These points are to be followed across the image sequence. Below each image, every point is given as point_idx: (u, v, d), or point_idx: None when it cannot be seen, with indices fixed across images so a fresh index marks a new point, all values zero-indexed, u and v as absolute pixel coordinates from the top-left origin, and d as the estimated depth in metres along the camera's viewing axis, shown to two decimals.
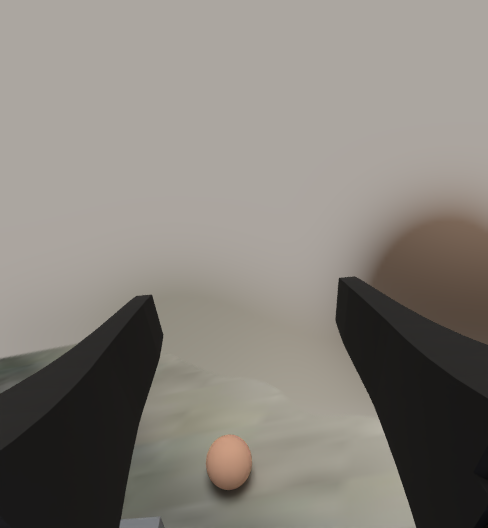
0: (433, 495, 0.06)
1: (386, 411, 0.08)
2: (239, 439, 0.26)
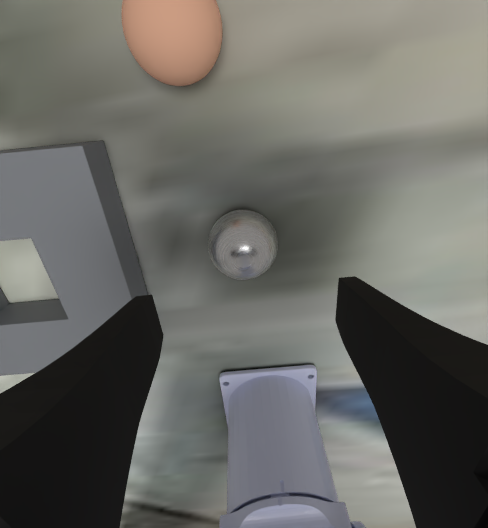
0: (433, 495, 0.06)
1: (386, 411, 0.08)
2: None
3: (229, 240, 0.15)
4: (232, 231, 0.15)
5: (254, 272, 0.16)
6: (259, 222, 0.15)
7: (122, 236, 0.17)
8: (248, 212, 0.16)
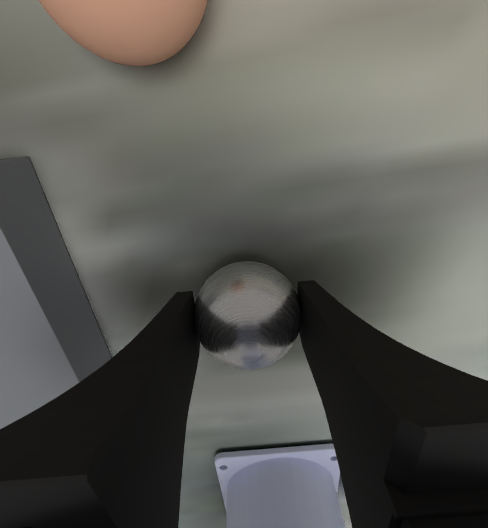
0: (361, 501, 0.06)
1: (331, 415, 0.08)
2: None
3: (226, 320, 0.09)
4: (231, 305, 0.09)
5: (266, 365, 0.10)
6: (275, 287, 0.10)
7: (66, 298, 0.11)
8: (255, 269, 0.10)
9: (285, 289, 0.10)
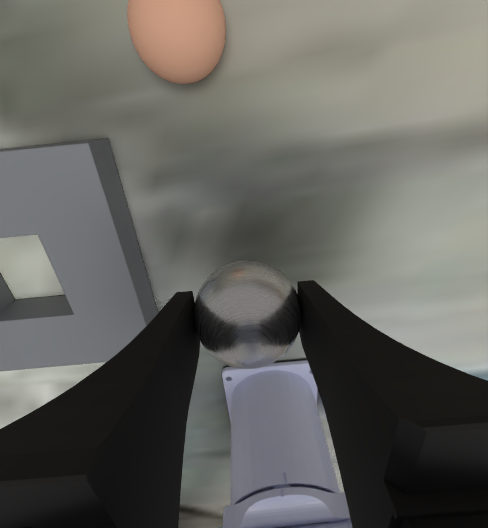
0: (361, 501, 0.06)
1: (331, 416, 0.08)
2: None
3: (226, 319, 0.09)
4: (231, 305, 0.09)
5: (266, 364, 0.10)
6: (275, 287, 0.10)
7: (127, 232, 0.17)
8: (255, 268, 0.10)
9: (285, 288, 0.10)
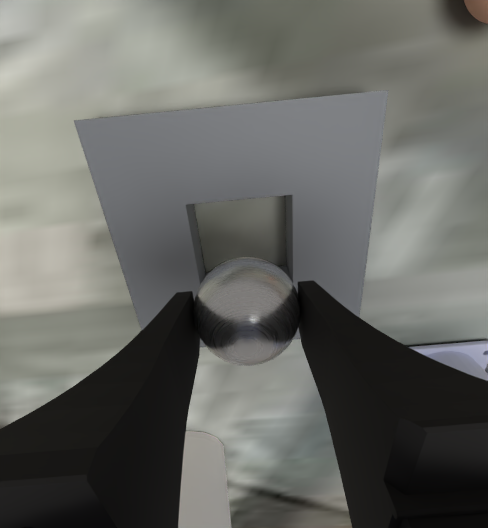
0: (361, 501, 0.06)
1: (332, 416, 0.08)
2: None
3: (224, 315, 0.09)
4: (229, 300, 0.09)
5: (263, 361, 0.10)
6: (274, 284, 0.10)
7: None
8: (256, 265, 0.10)
9: (285, 286, 0.10)
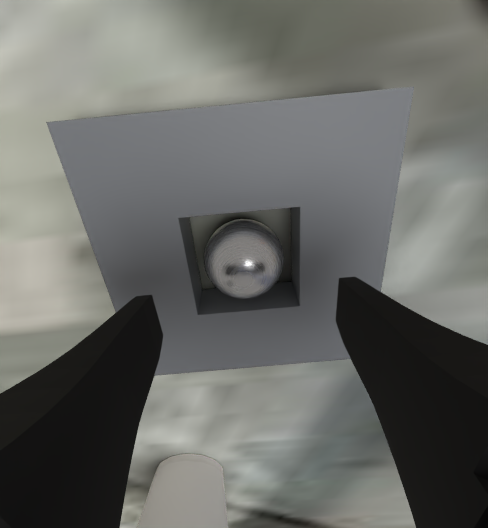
0: (433, 495, 0.06)
1: (386, 411, 0.08)
2: None
3: (227, 255, 0.13)
4: (231, 245, 0.13)
5: (255, 292, 0.14)
6: (263, 235, 0.13)
7: None
8: (250, 222, 0.14)
9: (271, 237, 0.14)
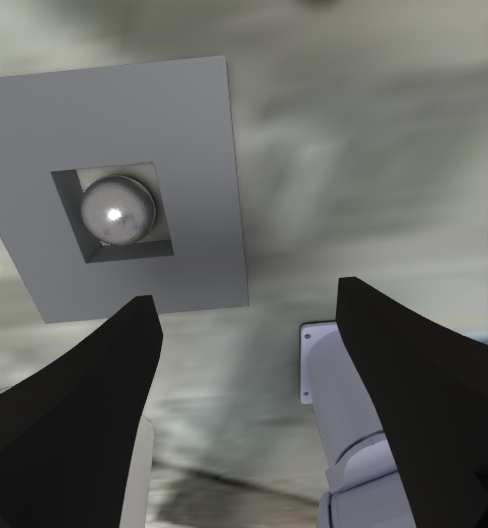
0: (433, 495, 0.06)
1: (386, 411, 0.08)
2: None
3: (90, 201, 0.15)
4: (94, 193, 0.15)
5: (121, 236, 0.16)
6: (125, 185, 0.16)
7: None
8: (117, 176, 0.16)
9: (135, 189, 0.16)
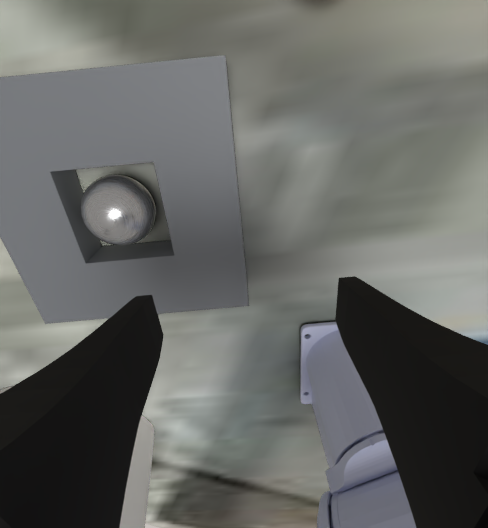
0: (433, 495, 0.06)
1: (386, 411, 0.08)
2: None
3: (91, 200, 0.15)
4: (95, 192, 0.15)
5: (122, 235, 0.16)
6: (126, 185, 0.16)
7: None
8: (118, 176, 0.16)
9: (135, 188, 0.16)
